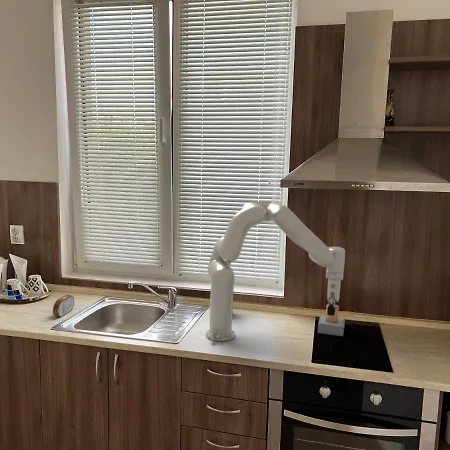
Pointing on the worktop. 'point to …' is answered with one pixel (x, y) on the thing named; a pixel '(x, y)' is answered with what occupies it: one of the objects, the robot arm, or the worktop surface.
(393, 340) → the worktop surface
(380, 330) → the worktop surface
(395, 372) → the worktop surface
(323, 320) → the pedestal
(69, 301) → the tin
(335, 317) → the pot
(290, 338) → the worktop surface
